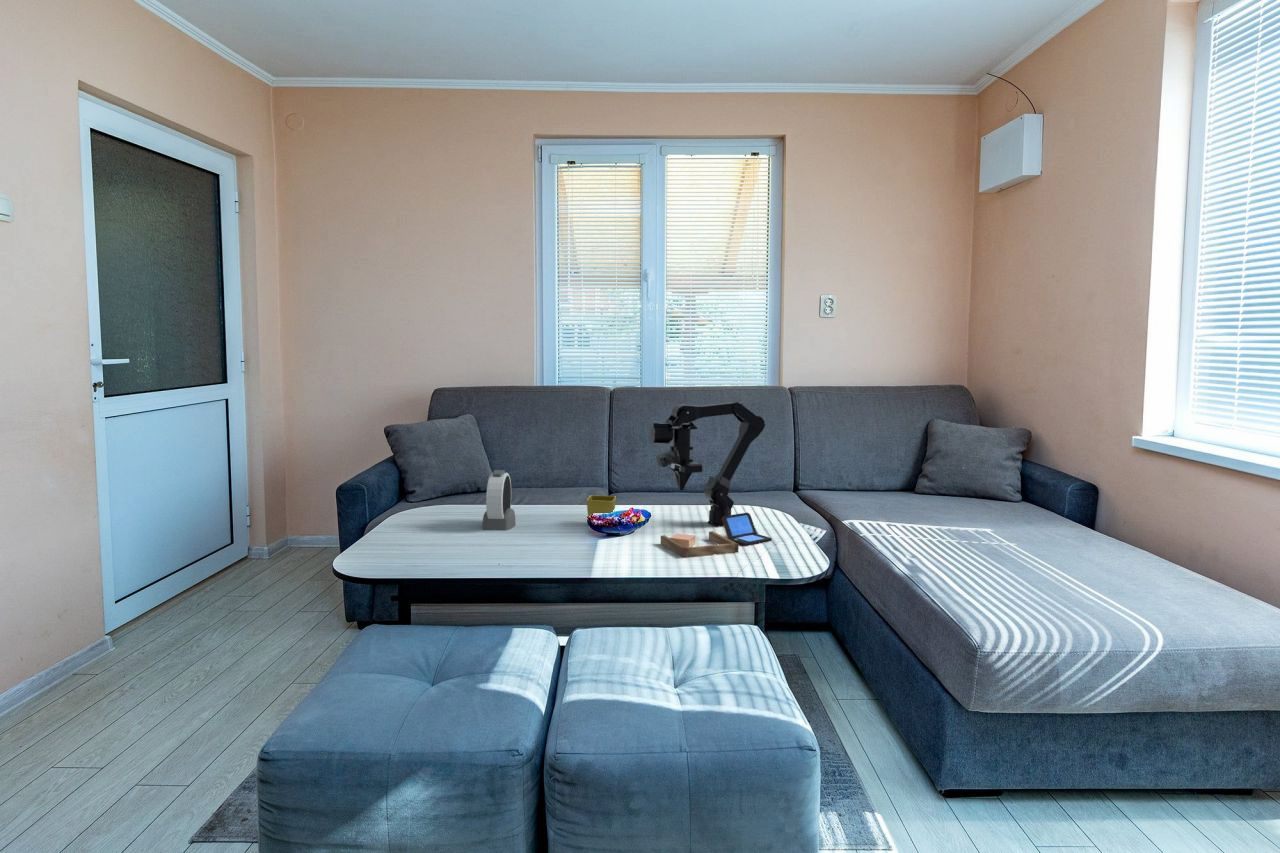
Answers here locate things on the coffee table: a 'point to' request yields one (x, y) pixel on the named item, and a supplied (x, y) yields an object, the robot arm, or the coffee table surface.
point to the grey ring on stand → (498, 503)
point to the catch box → (722, 548)
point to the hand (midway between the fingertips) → (681, 490)
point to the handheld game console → (742, 530)
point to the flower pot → (600, 504)
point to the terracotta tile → (684, 539)
